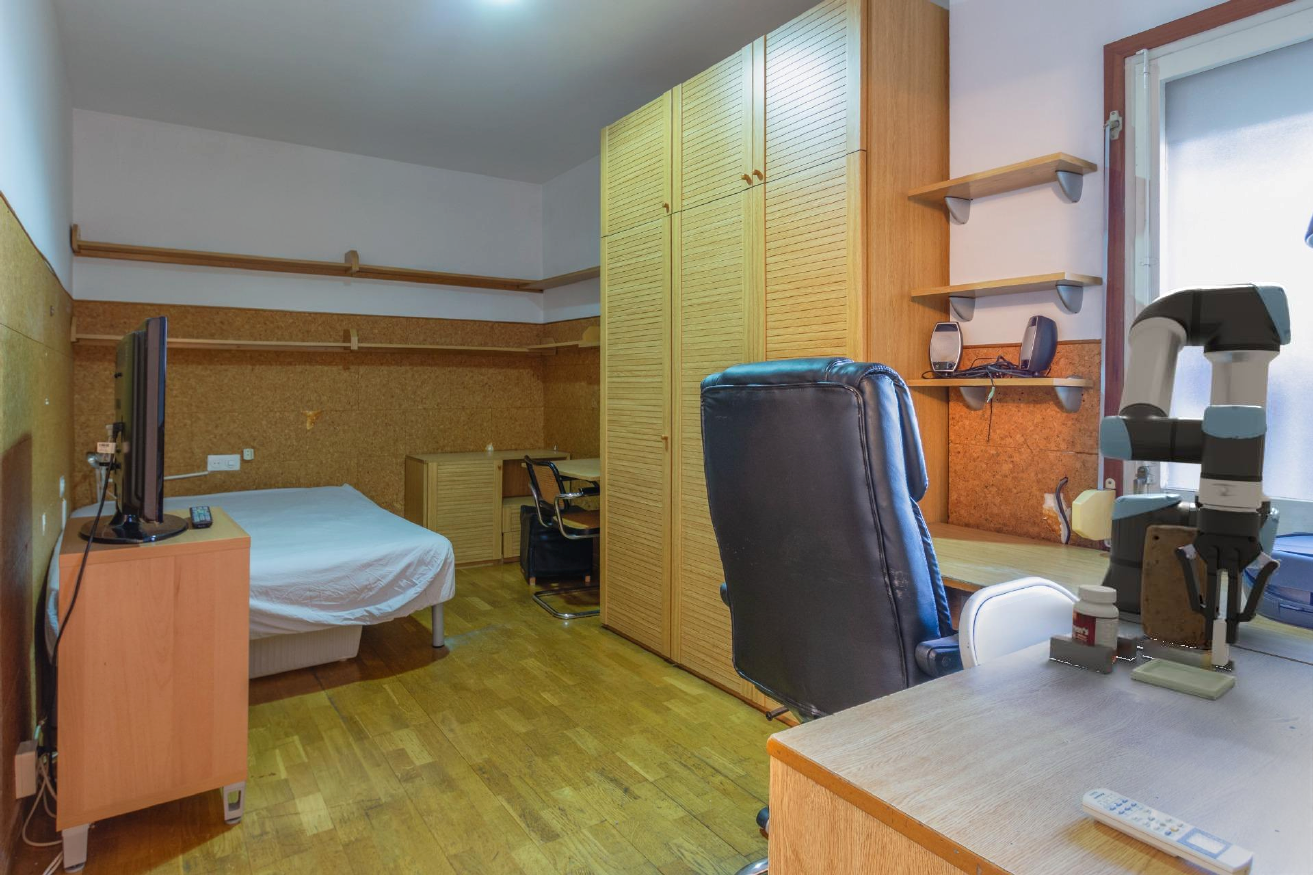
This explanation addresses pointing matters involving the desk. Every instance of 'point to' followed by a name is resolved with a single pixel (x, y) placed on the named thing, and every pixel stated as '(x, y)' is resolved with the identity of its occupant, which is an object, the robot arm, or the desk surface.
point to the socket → (1091, 651)
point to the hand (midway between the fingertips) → (1219, 662)
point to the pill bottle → (1096, 616)
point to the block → (1170, 589)
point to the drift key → (1178, 654)
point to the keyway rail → (1228, 666)
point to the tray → (1184, 678)
